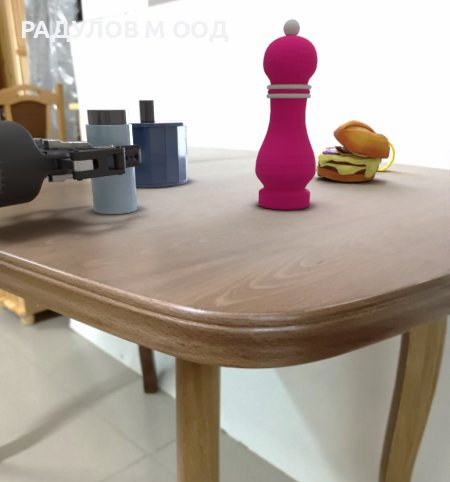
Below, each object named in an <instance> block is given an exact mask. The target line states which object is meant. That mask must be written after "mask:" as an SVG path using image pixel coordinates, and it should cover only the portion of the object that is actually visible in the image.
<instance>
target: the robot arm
mask: <svg viewBox="0 0 450 482" xmlns="http://www.w3.org/2000/svg"><path fill="white" fill-rule="evenodd" d="M141 163H142V157H141V147H140V146H139V145H122V146H113V145H108V146H92V144H91V143H90V142H88V141H87V140H76V141H75V140H74V141H62V140H61V139H59V138H53V139H51V138H41V137H33V136H32V134H31V132H30V131H29V130H28V129H27V128H25V127H24V126H23V125H22V124H20V123H18V122H16V121H14V120H0V208H5V207H6V208H7V207H11V206H17V205H23V204H29V203H30V202H32V201H34V200H35V199H36V198H37V197H38V196H39V194H40V192H41V189H42V186H43V184H44V181H45V180H46V179H47V182H48V183H64V182H65V181H66V180H74V181H77V182H82V181H83V180H89V179H90V180H91V178H97V177H104V176H112V175H123V174H125V173H126V168H129V167H136V166H140V165H141Z"/></svg>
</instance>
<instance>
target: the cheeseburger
mask: <svg viewBox="0 0 450 482" xmlns="http://www.w3.org/2000/svg"><path fill="white" fill-rule="evenodd" d="M332 133H333V137H334V138H335V140H336V142H338V143H339V144H340V145H338V146H336V145H334V146H330V147H326V148H325V149H326V150H323V151H322V152H320V153H319V154H318V156H317V159H318V160H317V164H316V174H317V177H320V178H322V177H323V178H326V179H329V180H331V181H335V182H336V181H337V182H342V183H361V182H369V181H372V180H373V179H374V178H375V176H376V173H377V170H378V168H379V167H380V165H381V164H382V162H383V160H386V159H387V160H388V159H389V157H390V153H391V147H390V145H389V142H390V141H389V138H388V139H387V138H386V137H387V136H386V135H384V134H382V133H378V132H376V131H375V130H374V129H373V128H372V127H371V126H370V125H368V124H367V123H364V122H363V121H359V120H356V119H353V120H348V121H346V122H344V123H342V124H341V125H339V126H338V127H337V128H336V129H334V131H333V132H332ZM388 141H389V142H388ZM331 149H332V150H331Z"/></svg>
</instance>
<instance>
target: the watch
mask: <svg viewBox="0 0 450 482" xmlns="http://www.w3.org/2000/svg"><path fill="white" fill-rule="evenodd" d="M385 137H386V138H387V139H388V142H389V146H390V150H391V158H390V160H389V162H388V163H387V165H385V166H383V167H382V168H378V170H377V171H378V172H384V171H386V170H387V169H389V168H390V167H391V166H392V164H393V162H394V161H395V156H396V150H395V147H394V145H393V143H392V142H391V141H389V137H388V136H385ZM377 171H376V172H377Z"/></svg>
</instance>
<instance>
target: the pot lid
mask: <svg viewBox="0 0 450 482" xmlns="http://www.w3.org/2000/svg"><path fill="white" fill-rule="evenodd" d="M138 108H139V110H138V111H139V119H133V120H130V119H129V124H132V127H172V126H187V127H188V126H189V125H190V121H189V120H176V119H175V120H172V119H157V114H156V113H157V111H156V100H155V99H149V100H148V99H139V100H138Z"/></svg>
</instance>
